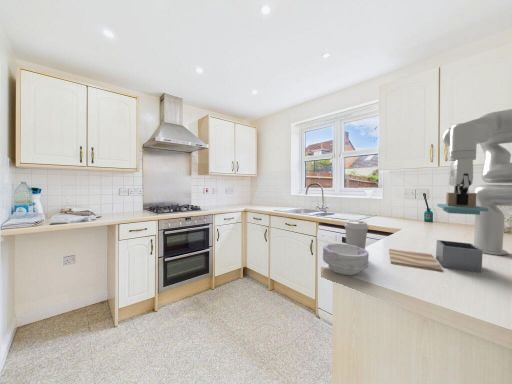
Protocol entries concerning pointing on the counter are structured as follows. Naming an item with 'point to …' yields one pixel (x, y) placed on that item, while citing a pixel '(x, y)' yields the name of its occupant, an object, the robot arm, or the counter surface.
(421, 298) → the counter surface
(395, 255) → the wooden board
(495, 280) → the counter surface
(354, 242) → the coffee cup
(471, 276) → the counter surface
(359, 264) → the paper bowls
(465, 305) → the counter surface
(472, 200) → the lid
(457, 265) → the tin
